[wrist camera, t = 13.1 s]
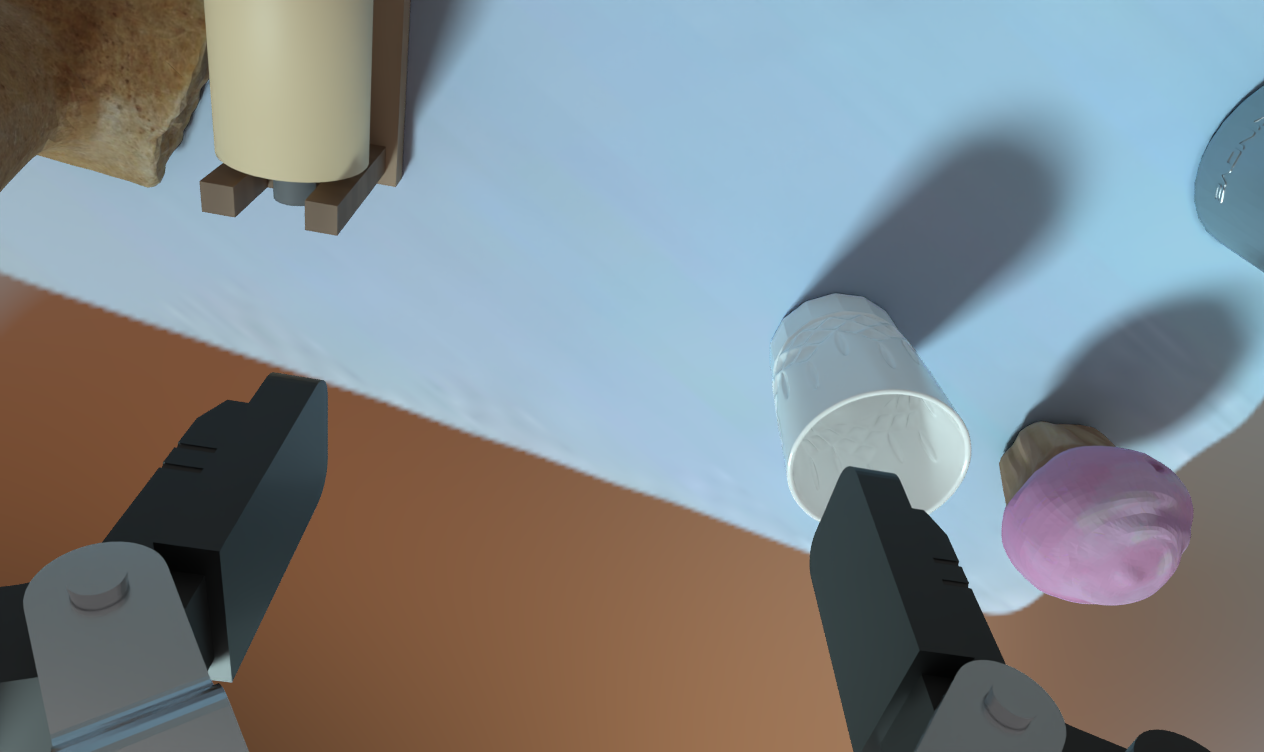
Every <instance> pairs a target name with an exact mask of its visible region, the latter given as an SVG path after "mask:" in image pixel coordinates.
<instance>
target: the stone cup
mask: <svg viewBox="0 0 1264 752" xmlns="http://www.w3.org/2000/svg"><path fill="white" fill-rule="evenodd" d="M208 80H209V64H208V50H207V37H206V23H205V9H204V0H0V192H1V191H2V189H3V188H4V187H5V186H6V185H7V184H8V183H9V182H10V181H11V180H12V179H13V177H14V176H15V175H16V174H17V173H18V172H19V171H20V170H21V169H22V168H23V167H24V166H25V165H26V164H27V163H28V162H29V161H30V160H31V159H32V158H33V157H35V156H36V155H39V156H43V157H46V158H50V159H53V160H57V161H60V162H63V163H67V164H70V165H74V166H78V167H82V168H86V169H89V170H93V171H96V172H100V173H103V174H106V175H109V176H113V177H116V178H120V179H124V180H127V181H130V182H133V183H136V184H139V185H142V186H145V187H154V186H156V185H157V184H159V183H160V182H161V180H162V178H163V176H164V173H165V166H166V163H167V161H168V159H169V157H170V156H171V154H172V153H173V151H174V150H175V149H176V148H177V147H178V145H179V144H180V143H181V141H182V140H183V131H184V129H185V128H186V126H187V125H188V123H189V120H190V117H191V114H192V112H193V111H194V110H195V109H196V107H197V104H198V102H199V97H200V90H201V88H202V86H203V85H204V84H205V83H206V82H207V81H208Z"/></svg>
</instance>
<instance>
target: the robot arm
mask: <svg viewBox="0 0 1264 752" xmlns="http://www.w3.org/2000/svg"><path fill="white" fill-rule="evenodd" d="M1194 202H1195V206H1196V210H1197V214H1198V218H1199V219H1200V221H1201V223H1202V224H1203V226H1204V228H1205V229H1206V231H1207V232H1208V233H1209V234H1210V235H1211V236H1213V237H1214V238H1215V239H1216V240H1217V241H1218V242H1220V243H1221V244H1223V245H1224V246H1225V247H1227V248H1228V249H1230V250H1231V251H1233V252H1234V253H1236V254H1237V255H1239V256H1240V257H1242V258H1243V259H1245V260H1246V261H1248V262H1249V263H1251V264H1252V265H1254V266H1255V267H1257V268H1258V269H1259V270H1261V271H1262V272H1264V86H1262V87H1261V88H1259V89H1258V90H1257V91H1256V92H1254V93H1253V94H1252V95H1251V96H1249V97H1248V98H1247V99H1246V100H1244V101H1243V102H1242V103H1241V104H1240V105H1239V106H1238V107H1237V108H1236V109H1235V110H1234V111H1233V112H1232V113H1231V115H1230V116H1229V117H1228V118H1227V119H1226V120H1225V121H1224V122H1223V123H1222V125H1221V126H1220V128H1219V129H1218V131H1217V132H1216V134H1215V135H1214V136H1213V138H1212V139H1211V141H1210V142H1209V144H1208V147H1207V149H1206V151H1205V153H1204V155H1203V157H1202V159H1201V162H1200V164H1199V168H1198V172H1197V176H1196V180H1195V200H1194ZM327 411H328V392H327V385H326V382H325V381H324V380H318V379H312V378H305V377H299V376H293V375H287V374H281V373H274V372H273V373H270V374H269V375H268V376H267V378H266V379H265V380H264V382H263V383H262V385H261V386H260V388H259V389H258V391H257V392H256V393H255V395H254V396H253V398H252V399H251V401H250V402H249V403H245V402H238V401H232V400H226V401H225V402H223V403H221V404H220V405H218V406H217V407H215V408H213V409H212V410H210V411H208V412H207V413H205V414H203V415H202V416H200V417H198V418H197V419H196V420H195V422H194V423H193V424H192V425H191V427H190V428H189V429H188V431H187V432H186V433H185V434H184V436H183V437H182V438H181V440H180V441H179V442H178V447H177V448H174V449H173V450H172V452H171V453H170V454H169V456H168V457H167V458H166V459H165V461H164V462H163V466H162V468H158V470H157V471H156V472H155V474H154V475H153V476H152V478H151V479H150V480H149V482H148V483H147V484H146V486H145V487H144V488H143V490H142V491H141V492H140V493H139V495H138V496H137V497H136V499H135V500H134V501H133V502H132V504H131V505H130V506H129V508H128V509H127V510H126V512H125V513H124V514H123V516H122V517H121V518H120V520H119V521H118V522H117V523H116V525H115V526H114V527H113V529H112V530H111V531H110V533H109V534H108V535H107V537H106V538H105V539H104V541H103V542H102V543H97V544H93V545H88V546H85V547H82V548H79V549H76V550H73V551H71V552H69V553H66V554H64V555H62V556H60V557H58V558H57V559H55V560H53V561H52V562H50V563H49V564H48V565H46V566H45V567H44V568H42V569H41V570H40V571H39V572H38V573H37V574H36V575H35V576H34V578H33V579H32V581H31V582H29V583H25V584H20V585H13V586H5V587H0V752H249V751H248V748H247V746H246V743H245V741H244V738H243V736H242V733H241V730H240V728H239V726H238V723H237V720H236V718H235V715H234V712H233V710H232V707H231V705H230V702H229V700H228V697H227V695H226V693H225V691H224V689H223V687H222V686H221V685H220V684H219V683H218V684H216V685H213V683H212V681H211V680H217V681H225V682H232V681H233V679H234V677H235V675H236V673H237V671H238V669H239V666H240V664H241V662H242V660H243V658H244V656H245V654H246V652H247V650H248V648H249V646H250V644H251V642H252V640H253V637H254V635H255V633H256V631H257V629H258V627H259V625H260V623H261V621H262V619H263V617H264V614H265V613H266V610H267V608H268V606H269V604H270V602H271V600H272V598H273V596H274V594H275V592H276V590H277V588H278V586H279V583H280V581H281V579H282V577H283V575H284V573H285V571H286V569H287V567H288V564H289V563H290V560H291V558H292V556H293V554H294V552H295V550H296V548H297V546H298V544H299V542H300V540H301V538H302V535H303V533H304V531H305V529H306V527H307V525H308V523H309V521H310V519H311V516H312V515H313V513H314V510H315V508H316V506H317V504H318V502H319V499H320V497H321V494H322V491H323V487H324V483H325V477H326V472H327V460H328V451H327V450H328V412H327ZM958 563H959V560H958V558H957V556H956V554H955V552H954V549H953V547H952V545H951V543H950V541H949V538H948V536H947V535H946V534H945V532H944V531H943V530H942V529H941V528H940V527H939V526H938V525H937V524H936V523H935V522H934V520H933V519H932V518H931V517H930V516H929V515H928V514H927V513H926V512H925V511H924V510H921V509H914V508H912V507H911V505H910V502H909V500H908V497H907V495H906V493H905V490H904V488H903V486H902V483H901V481H900V479H899V477H898V476H897V475H896V474H895V473H889V472H883V471H877V470H871V469H864V468H858V467H852V466H848V467H846V468H845V469H844V470H843V471H842V473H841V474H840V476H839V479H838V481H837V483H836V486H835V488H834V490H833V493H832V495H831V497H830V500H829V502H828V504H827V507H826V509H825V511H824V514H823V516H822V518H821V521H820V523H819V525H818V528H817V530H816V532H815V535H814V538H813V541H812V545H811V551H810V574H811V579H812V583H813V587H814V591H815V595H816V600H817V604H818V608H819V612H820V616H821V620H822V624H823V628H824V633H825V637H826V641H827V645H828V649H829V653H830V657H831V661H832V665H833V670H834V673H835V678H836V682H837V686H838V690H839V694H840V698H841V702H842V706H843V711H844V715H845V719H846V723H847V727H848V731H849V735H850V739H851V744H852V747H853V751H854V752H1210V751H1209V750H1208V749H1206V748H1205V747H1203V746H1201V745H1200V744H1198V743H1197V742H1195V741H1193V740H1191V739H1189V738H1187V737H1185V736H1182V735H1179V734H1177V733H1174V732H1170V731H1165V730H1149V731H1146V732H1143V733H1142V734H1141V735H1139V736H1138V737H1137V738H1136V740H1135V741H1134V742H1133V743H1132V744H1131V745H1130V747H1129V748H1128V749H1126V748H1123V747H1121V746H1119V745H1116V744H1114V743H1111V742H1109V741H1106V740H1104V739H1101V738H1099V737H1096V736H1094V735H1092V734H1089V733H1087V732H1084V731H1082V730H1079V729H1077V728H1075V727H1072V726H1070V725H1068V724H1066V723H1065V722H1064V719H1063V717H1062V714H1061V712H1060V710H1059V708H1058V707H1057V705H1056V704H1055V702H1054V701H1053V700H1052V698H1051V697H1050V696H1049V695H1048V693H1046V692H1045V690H1044V689H1043V688H1042V687H1040V686H1039V685H1038V684H1037V683H1036V682H1035V681H1034V680H1032V679H1031V678H1029V677H1028V676H1027V675H1025V674H1024V673H1021V672H1020V671H1018V670H1016V669H1015V668H1012V667H1010V666H1008V665H1006V664H1005V662H1004V659H1003V657H1002V655H1001V653H1000V650H999V648H998V646H997V644H996V642H995V640H994V637H993V635H992V633H991V631H990V629H989V626H988V624H987V622H986V620H985V618H984V615H983V613H982V611H981V609H980V607H979V604H978V602H977V600H976V598H975V596H974V593H973V591H972V589H970V588H968V584H969V582H968V580H967V578H966V576H965V574H964V571H963V569H962V567H960V566H958Z"/></svg>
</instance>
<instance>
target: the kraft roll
mask: <svg viewBox="0 0 1264 752" xmlns="http://www.w3.org/2000/svg"><path fill="white" fill-rule="evenodd" d="M204 9H205V23H206V37H207V50H208V64H209V78H210V91H211V105H212V119H213V132H214V146H215V154H216V156H217V157H218V159H219V160H220V161H222V162H223V163H224V164H226V165H227V166H229V167H231V168H233V169H235V170H238V171H240V172H243V173H246V174H249V175H253V176H257V177H261V178H266V179H272V180H273V193H274V199H275V200H276V201H278V202H280V203H282V204H286V205H291V206H305V200H306V198H307V197H308V196H309V195H310V194H311V193H312V192H313V191H314V190H315V189H316V182H329V181H337V180H342V179H346V178H350V177H353V176H355V175H358V174H360V173H361V172H363V171H364V170H365V169H366V168H367V167H368V164H369V140H370V104H371V69H372V33H373V0H204Z"/></svg>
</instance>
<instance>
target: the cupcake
mask: <svg viewBox="0 0 1264 752" xmlns="http://www.w3.org/2000/svg"><path fill="white" fill-rule="evenodd" d="M999 466H1000V473H1001V479H1002V485H1003V491H1004V496H1005V501H1006V507H1005V511H1004V515H1003V520H1002V542H1003V546H1004V549H1005V551H1006V553H1007V555H1008V557H1009V559H1010V561H1011V562H1012V564H1013V565H1014V566H1015V568H1016V569H1017V570H1018V571H1019V572H1020V573H1021V574H1022V575H1023V576H1024V577H1025V578H1026V579H1027V580H1028V581H1029V582H1030V583H1031V584H1033V585H1034V586H1035V587H1036V588H1037V589H1039V590H1040V591H1042V592H1044V593H1046V594H1048V595H1051V596H1054V597H1057V598H1060V599H1063V600H1067V601H1071V602H1076V603H1081V604H1100V605H1122V604H1129V603H1133V602H1137V601H1140V600H1142V599H1145V598H1147V597H1149V596H1151V595H1153V594H1154V593H1155V592H1157V591H1158V590H1159V589H1160V588H1161V587H1162V586H1163V585H1164V584H1165V583H1166V582H1167V581H1168V580H1169V578H1170V577H1171V576H1172V575H1173V573H1174V572H1175V571H1176V569H1177V567H1178V565H1179V563H1180V559H1181V555H1182V553H1183V552H1184V551H1185V549H1186V548H1187V547H1188V545H1189V541H1190V538H1191V530H1190V529H1191V526H1192V521H1193V505H1192V501H1191V497H1190V495H1189V492H1188V490H1187V488H1186V487H1185V485H1184V484H1183V483H1182V482H1181V480H1180V479H1179V478H1178V476H1177V475H1176V474H1175V473H1174V472H1173V471H1172V470H1171V469H1169V468H1168V467H1167V466H1165V465H1164V464H1162V463H1161V462H1159V461H1157V460H1155V459H1153V458H1152V457H1150V456H1148V455H1147V454H1145V453H1141V452H1138V451H1134V450H1129V449H1124V448H1118V447H1116V446H1115V445H1114V444H1113V443H1112V442H1111V441H1110V440H1109V439H1108V438H1107V437H1106V436H1104V435H1103V434H1102V433H1101V432H1100V431H1098V430H1097V429H1095V428H1093V427H1089V426H1084V425H1075V424H1052V423H1049V422H1044V421H1039V422H1036V423H1033V424H1031V425H1029V426H1027V427H1026V428H1024V429H1023V430H1021V431H1020V432H1019V434H1018V436H1017V438H1016V440H1015V442H1014V443H1013V445H1012V446H1011V447H1010V448H1009V449H1008V450H1007V451H1006V452H1005V453H1004V454H1003V456H1002V457H1001V460H1000V463H999Z"/></svg>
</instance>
